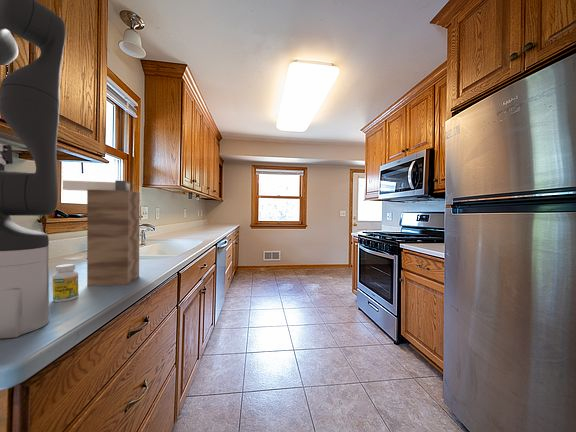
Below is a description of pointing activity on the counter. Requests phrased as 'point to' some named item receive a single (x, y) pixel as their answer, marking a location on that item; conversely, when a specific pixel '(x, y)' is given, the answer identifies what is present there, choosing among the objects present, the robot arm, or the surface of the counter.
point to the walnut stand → (112, 237)
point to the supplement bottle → (65, 283)
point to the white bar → (97, 185)
